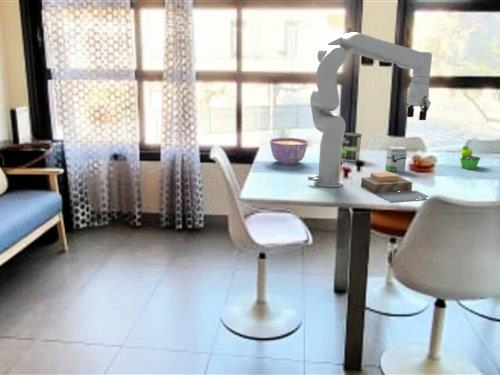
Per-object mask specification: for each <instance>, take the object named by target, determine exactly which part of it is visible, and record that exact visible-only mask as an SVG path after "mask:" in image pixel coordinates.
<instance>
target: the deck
mask: <svg viewBox="0 0 500 375" xmlns="http://www.w3.org/2000/svg"><path fill="white" fill-rule="evenodd" d="M360 183H361V184H360V187H362V188H363V189H365V190H367V191H368V192H371V193H372V194H373V195H374V194H375V193H385V192H398V191H413V190H412V188H413V181H410V180H408V179H406V178H404V177H401V176H399V180H394V181H377V180H375V179H373V178H371V177H370V176H366V177H364V176H363V177H361V181H360ZM375 195H376V194H375Z"/></svg>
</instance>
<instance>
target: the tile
mask: <svg viewBox="0 0 500 375" xmlns="http://www.w3.org/2000/svg"><path fill="white" fill-rule="evenodd" d="M369 177H371V178H373V179H375V180H377V181H394V180H399V177H400V175H398V174H396V173H393V172H390V171H386V172H385V171H384V172H370V175H369Z"/></svg>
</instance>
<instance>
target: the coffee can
mask: <svg viewBox="0 0 500 375" xmlns="http://www.w3.org/2000/svg"><path fill="white" fill-rule="evenodd" d="M361 142H362V133H358V132H346V131H345V132H344V136H343V142H342V154H341V161H346V162H357V161H356V160H359V161H360V155H361V154H360V153H361V152H360V151H361Z"/></svg>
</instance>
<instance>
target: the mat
mask: <svg viewBox="0 0 500 375" xmlns="http://www.w3.org/2000/svg"><path fill="white" fill-rule="evenodd" d="M375 195H376V196H378V197H380V198H381V197H382V198H381V199H383V198H384V201H385V200H386V201H387V200H388V202H389V201H390V202H389V203H393V202H392V201H401V202H405V201H404V200H416V199H420V198H421V199H426V198H427V197H430V196H429V195H427V194H425V193H422V192H420V191H418V190H412V191H400V192H385V193H375ZM419 197H420V198H419ZM416 201H417V200H416Z"/></svg>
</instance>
